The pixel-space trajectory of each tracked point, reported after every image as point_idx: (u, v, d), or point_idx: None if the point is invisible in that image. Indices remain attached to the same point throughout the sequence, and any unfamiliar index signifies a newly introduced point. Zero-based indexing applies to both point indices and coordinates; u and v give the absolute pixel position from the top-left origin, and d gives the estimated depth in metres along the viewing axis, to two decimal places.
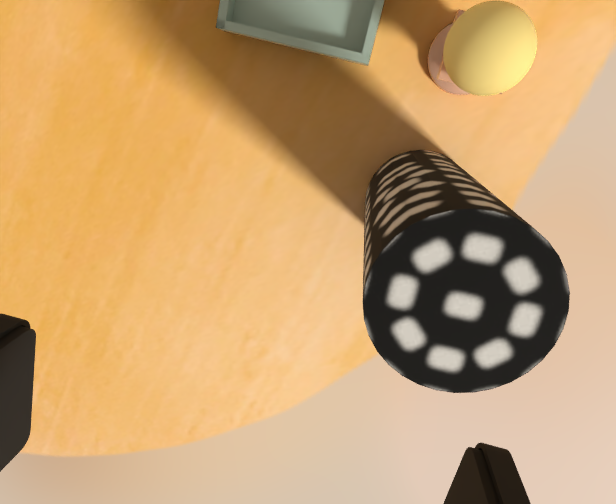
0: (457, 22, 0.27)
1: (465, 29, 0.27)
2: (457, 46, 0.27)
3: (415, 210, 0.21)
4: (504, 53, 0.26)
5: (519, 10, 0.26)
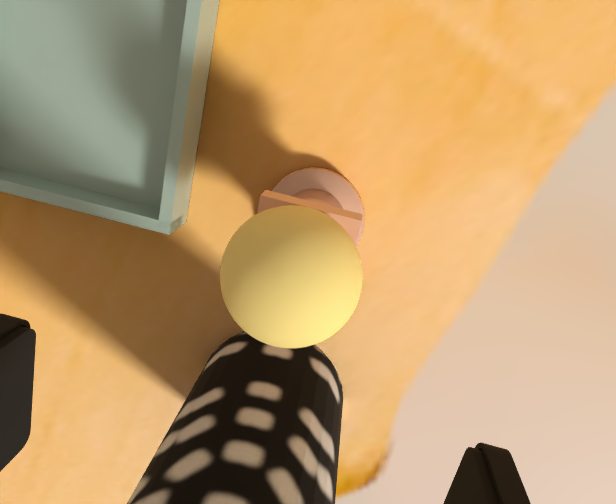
0: (229, 243, 0.17)
1: (232, 266, 0.16)
2: (225, 288, 0.16)
3: None
4: (289, 317, 0.15)
5: (319, 238, 0.16)
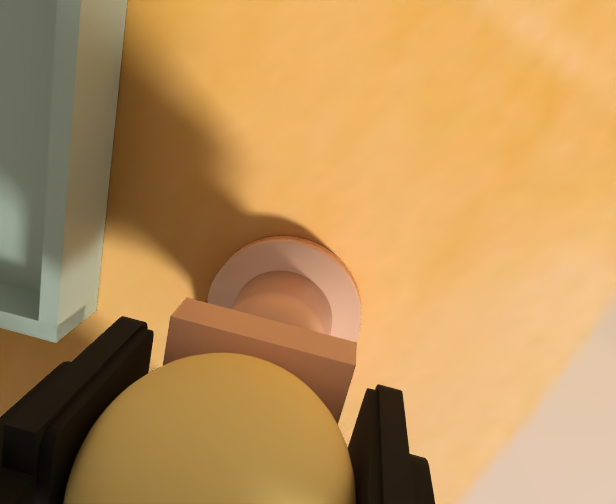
0: (80, 449, 0.08)
1: None
2: None
3: None
4: None
5: (257, 467, 0.07)
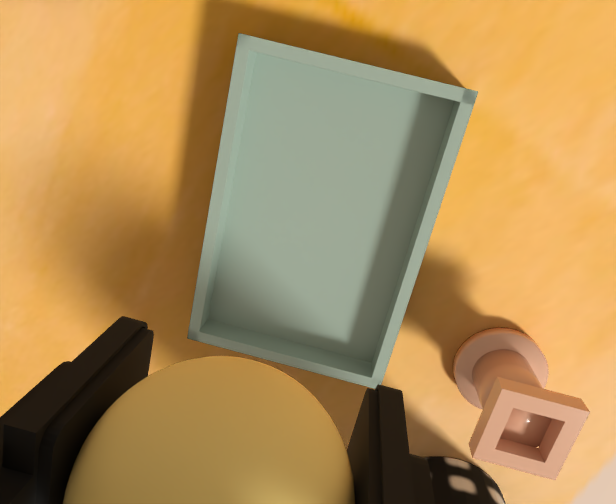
0: (80, 453, 0.08)
1: None
2: None
3: None
4: None
5: (256, 472, 0.07)
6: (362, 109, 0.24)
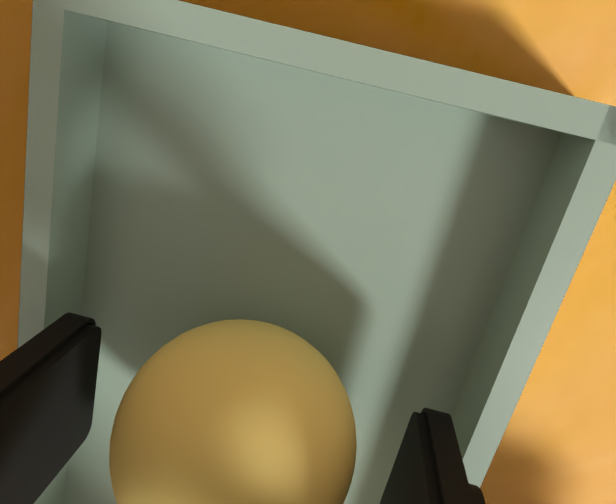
0: (124, 396, 0.10)
1: (119, 450, 0.09)
2: (111, 481, 0.09)
3: None
4: None
5: (275, 405, 0.09)
6: (348, 149, 0.11)
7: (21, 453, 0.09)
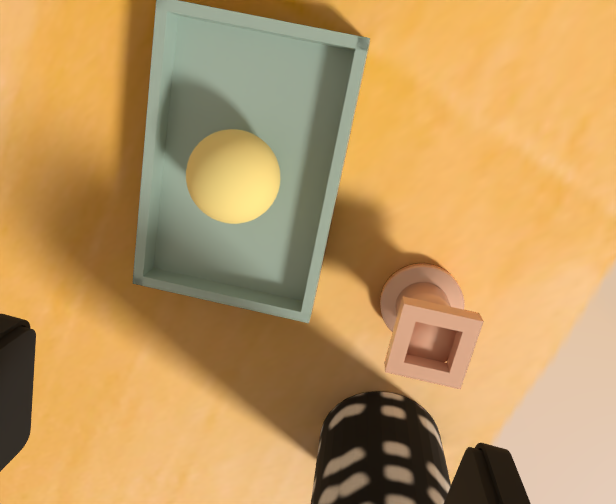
0: (191, 153, 0.26)
1: (191, 165, 0.25)
2: (188, 181, 0.26)
3: None
4: (226, 193, 0.24)
5: (244, 144, 0.25)
6: (275, 63, 0.27)
7: None
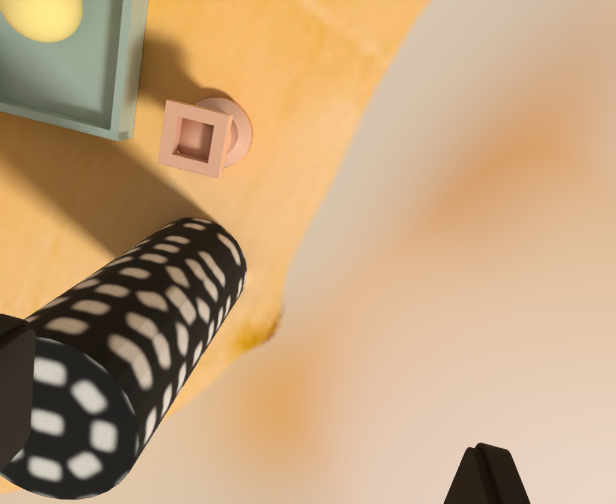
0: None
1: None
2: None
3: None
4: (19, 1, 0.30)
5: None
6: None
7: None
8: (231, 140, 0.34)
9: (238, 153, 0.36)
